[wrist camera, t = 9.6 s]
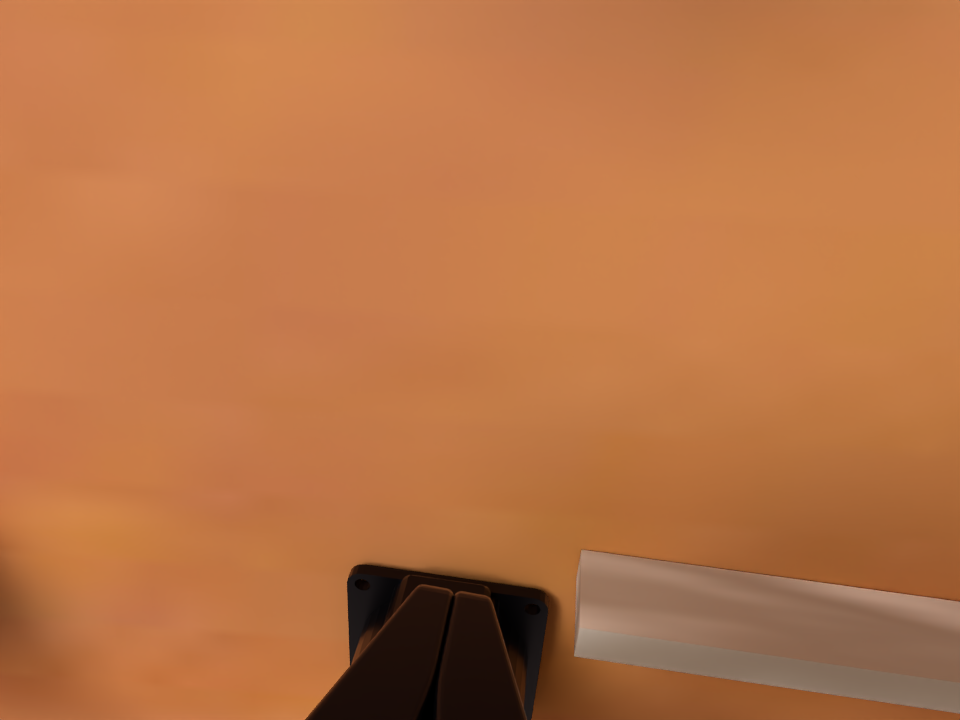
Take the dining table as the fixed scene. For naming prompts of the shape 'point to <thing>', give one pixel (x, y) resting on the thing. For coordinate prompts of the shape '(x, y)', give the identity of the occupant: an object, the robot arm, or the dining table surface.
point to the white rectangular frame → (769, 630)
